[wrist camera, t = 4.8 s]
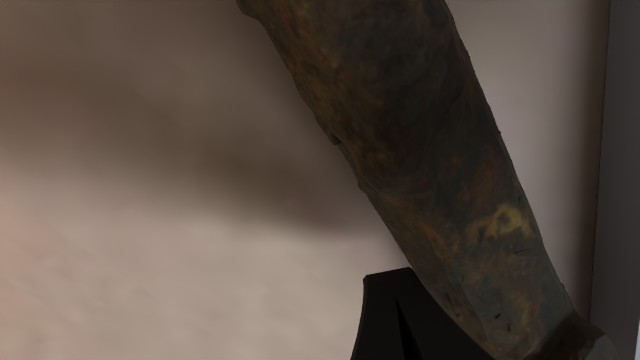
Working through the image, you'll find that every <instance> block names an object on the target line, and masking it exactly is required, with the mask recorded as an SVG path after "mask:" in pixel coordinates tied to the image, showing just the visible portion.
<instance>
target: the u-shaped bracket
mask: <svg viewBox="0 0 640 360" xmlns="http://www.w3.org/2000/svg"><path fill="white" fill-rule="evenodd" d="M590 323H591V324H593V325H595V326H597V327H599V328H600V329H601V330H602V331H603V332H604V333H606V335H607V336H608V338H609V339H610V341H611V342H612V344H613V346H614V348H615V350H616V352H617V355H618V357H619V360H640V0H611V4H610V19H609V34H608V49H607V65H606V80H605V95H604V110H603V126H602V141H601V156H600V171H599V187H598V202H597V217H596V232H595V248H594V263H593V278H592V293H591V308H590Z"/></svg>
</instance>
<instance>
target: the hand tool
mask: <svg viewBox="0 0 640 360" xmlns="http://www.w3.org/2000/svg"><path fill="white" fill-rule="evenodd" d="M236 3H237V5H238V6H239V8H240V10H241V11H242V13H243V14H245V15H248V16H250V17H252V18H255V19H257V20H259V21H260V23H261V24H262V25H263V26H264V27H265V29H266V31H267V32H268V34H269V36H270V38H271V40H272V42H273V44H274V45H275V47H276V49H277V51H278V52H279V54H280V56H281V58H282V59H283V61H284V63H285V65H286V66H287V68H288V70H289V71H290V72H291V74H292V76H293V79H294V82H295V84H296V87H297V89H298V91H299V93H300V95H301V97H302V98H303V100H304V101H305V102H306V103H307V105H308V106H309V107H310V108H311V110H312V111H313V113H314V115H315V117H316V120H317V122H318V124H319V125H320V127H321V128H322V129H323V131H324V132H325V134H326V135H327V136H328V138H329V139H330V141H331V142H332V143H333V144H334V145H338V146H339V148H340V150H341V151H342V153H343V154H344V156H345V158H346V159H347V161H348V162H349V164H350V166H351V167H352V169H353V171H354V173H355V175H356V177H357V179H358V186H359V188H360V190H362V191H363V192H364V193H366V195H367V196H368V198H369V200H370V201H371V203H372V205H373V206H374V208H375V209H376V211H377V212H378V214H379V215H380V217H381V218H382V220H383V221H384V223H385V224H386V226H387V227H388V229H389V230H390V232H391V234H392V235H393V237H394V238H395V240H396V242H397V243H398V245H399V246H400V248H401V250H402V251H403V253H404V255H405V256H406V258H407V259H408V261H409V262H410V264H411V266H412V267H413V269H414V271H415V273H416V274H417V276H418V278H419V280H420V281H421V282H422V284H423V285H424V286H425V288H426V289H427V290H428V292H429V293H430V294H431V295H432V297H433V298H434V299H435V300H436V301H437V303H438V304H439V305H440V306H441V307H442V308H443V309H444V310H445V312H446V313H447V314H448V315H449V316H450V317H451V318H452V319H453V320H454V321H455V322H456V323H457V324H458V325H459V326H460V327H461V328H462V329H463V330H464V331H465V332H466V333H467V334H468V335H469V336H470V337H471V338H472V339H473V340H474V341H475V342H476V343H477V344H478V345H480V346H481V347H482V348H483V349H484V350H485V351H486V352H488V353H489V354H490V355H491V356H492V357H494V358H495V359H496V360H619V357H618V355H617V352H616V350H615V348H614V346H613V344H612V342H611V341H610V339H609V338H608V336H607V335H606V333H604V332H603V331H602V330H601V329H600V328H599V327H597V326H595V325H593V324H591V323H589V322H587V321H585V320H583V319H581V318H580V317H579V315H578V314H577V312H576V311H575V309H574V307H573V305H572V302H571V300H570V297H569V295H568V293H567V292H566V290H565V288H564V285H563V283H561V282H560V280H559V278H558V276H557V274H556V272H555V270H554V267H553V265H552V263H551V261H550V259H549V257H548V254H547V252H546V250H545V248H544V245H543V241H542V237H541V234H540V231H539V228H538V225H537V222H536V220H535V217H534V215H533V212H532V210H531V207H530V205H529V202H528V200H527V197H526V195H525V193H524V191H523V188H522V186H521V184H520V182H519V180H518V177H517V175H516V172H515V169H514V166H513V163H512V160H511V158H510V156H509V153H508V151H507V148H506V146H505V144H504V141H503V139H502V137H501V132H500V131H499V130H498V127H497V125H496V122H495V119H494V117H493V114H492V111H491V108H490V106H489V105H488V103H487V101H486V98H485V96H484V93H483V90H482V88H481V86H480V84H479V81H478V79H477V77H476V75H475V71H474V69H473V66H472V63H471V60H470V56H469V54H468V51H467V50H466V48H465V46H464V44H463V42H462V40H461V38H460V36H459V34H458V31H457V28H456V25H455V22H454V18H453V16H452V14H451V12H450V10H449V8H448V6H447V4H446V2H445V0H236Z"/></svg>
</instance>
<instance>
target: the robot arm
mask: <svg viewBox="0 0 640 360" xmlns="http://www.w3.org/2000/svg"><path fill="white" fill-rule="evenodd" d="M363 284H364V293H363V304H362V312H361V318H360V323H359V328H358V333H357V337H356V341H355V345H354V348H353V352H352V356H351V359H350V360H496V359H495V358H494V357H492V356H491V355H490V354H489V353H488V352H486V351H485V350H484V349H483V348H482V347H481V346H480V345H478V344H477V343H476V342H475V341H474V340H473V339H472V338H471V337H470V336H469V335H468V334H467V333H466V332H465V331H464V330H463V329H462V328H461V327H460V326H459V325H458V324H457V323H456V322H455V321H454V320H453V319H452V318H451V317H450V316H449V315H448V314H447V313H446V312H445V310H444V309H443V308H442V307H441V306H440V305H439V304H438V303H437V301H436V300H435V299H434V298H433V297H432V295H431V294H430V293H429V292H428V290H427V289H426V288H425V286H424V285H423V284H422V282H421V281H420V280H419V278H418V277H417V275H416V273H415V272H414V270H413V269H411V268H410V267H406V268H401V269H396V270H390V271H385V272H380V273H375V274H369V275H366V276H365V277H364V279H363Z"/></svg>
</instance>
